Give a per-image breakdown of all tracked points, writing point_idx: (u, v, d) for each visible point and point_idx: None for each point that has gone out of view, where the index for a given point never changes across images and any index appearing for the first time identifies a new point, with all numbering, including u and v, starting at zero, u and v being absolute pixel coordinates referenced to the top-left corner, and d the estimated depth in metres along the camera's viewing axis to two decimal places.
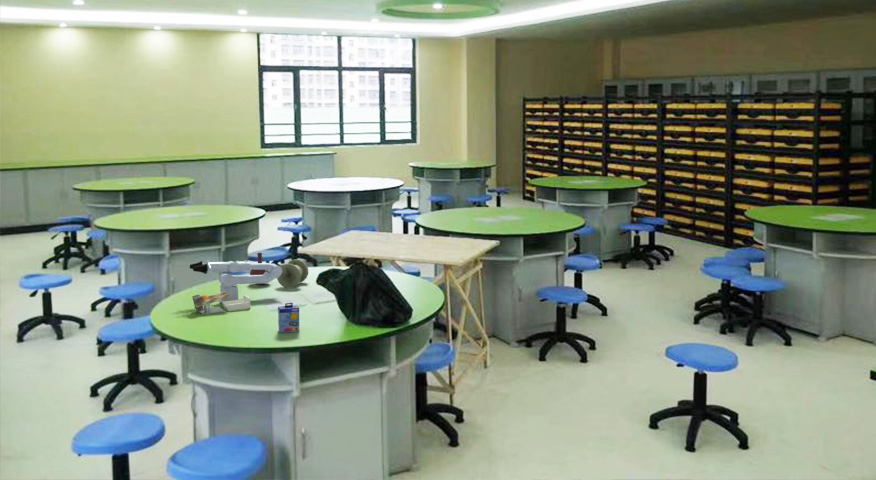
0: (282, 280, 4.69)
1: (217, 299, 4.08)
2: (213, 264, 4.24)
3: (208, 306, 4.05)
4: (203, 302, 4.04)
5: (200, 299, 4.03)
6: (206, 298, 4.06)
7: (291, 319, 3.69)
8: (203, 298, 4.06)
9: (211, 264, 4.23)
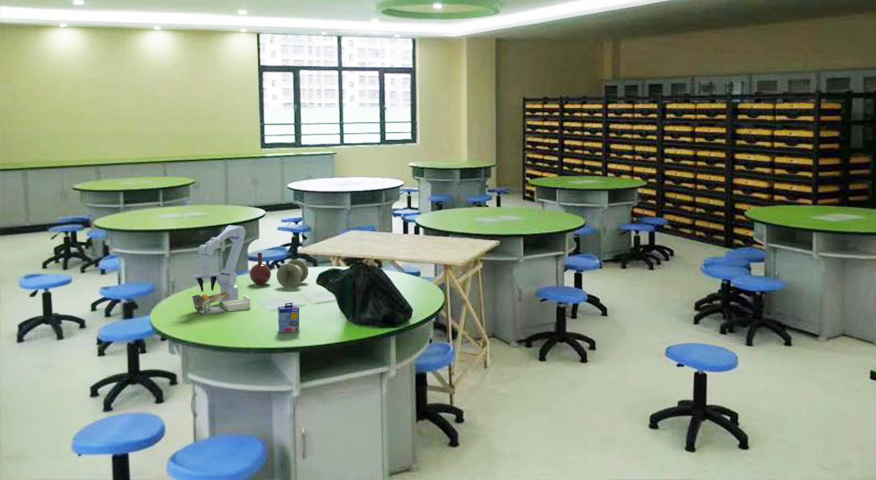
0: (282, 280, 4.69)
1: (217, 299, 4.08)
2: (211, 270, 4.16)
3: (208, 306, 4.05)
4: (203, 302, 4.04)
5: (200, 299, 4.03)
6: (206, 298, 4.06)
7: (291, 319, 3.69)
8: (203, 298, 4.06)
9: (211, 272, 4.16)
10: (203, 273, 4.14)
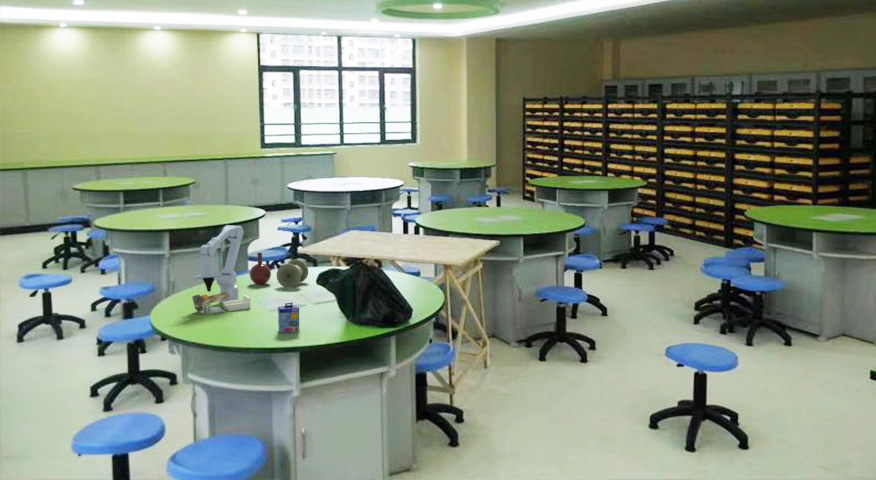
0: (282, 280, 4.69)
1: (217, 299, 4.08)
2: (212, 270, 4.14)
3: (208, 306, 4.05)
4: (203, 302, 4.04)
5: (200, 299, 4.03)
6: (206, 298, 4.06)
7: (291, 319, 3.69)
8: (203, 298, 4.06)
9: (212, 272, 4.14)
10: (205, 273, 4.12)
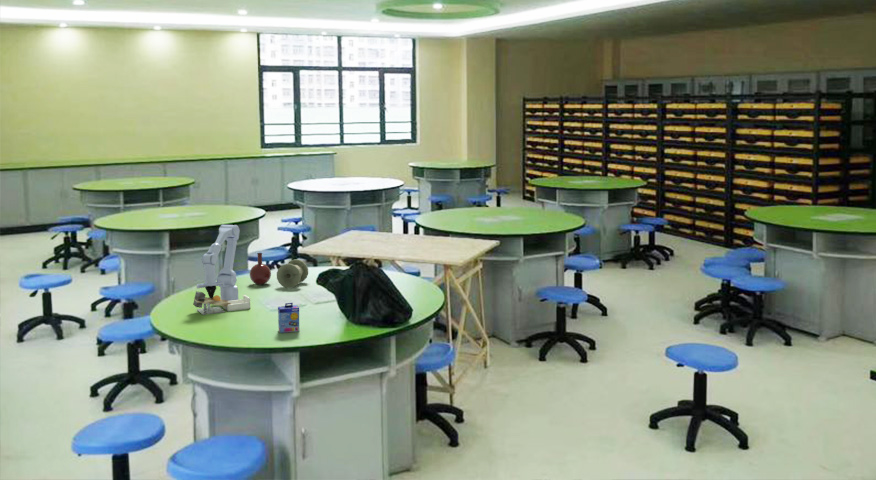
0: (282, 280, 4.69)
1: (218, 303, 4.09)
2: (214, 279, 4.14)
3: (208, 306, 4.05)
4: (204, 301, 4.05)
5: (203, 296, 4.04)
6: (216, 300, 4.09)
7: (291, 319, 3.69)
8: (219, 299, 4.10)
9: (214, 281, 4.14)
10: (207, 282, 4.12)
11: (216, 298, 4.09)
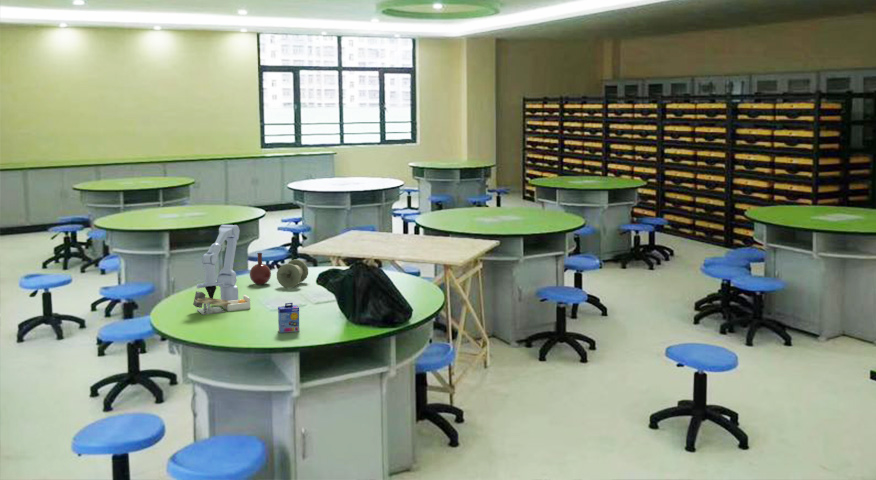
0: (282, 280, 4.69)
1: (218, 303, 4.09)
2: (214, 279, 4.14)
3: (208, 306, 4.05)
4: (204, 301, 4.05)
5: (203, 296, 4.04)
6: None
7: (291, 319, 3.69)
8: None
9: (214, 281, 4.14)
10: (207, 282, 4.12)
11: (243, 302, 4.17)
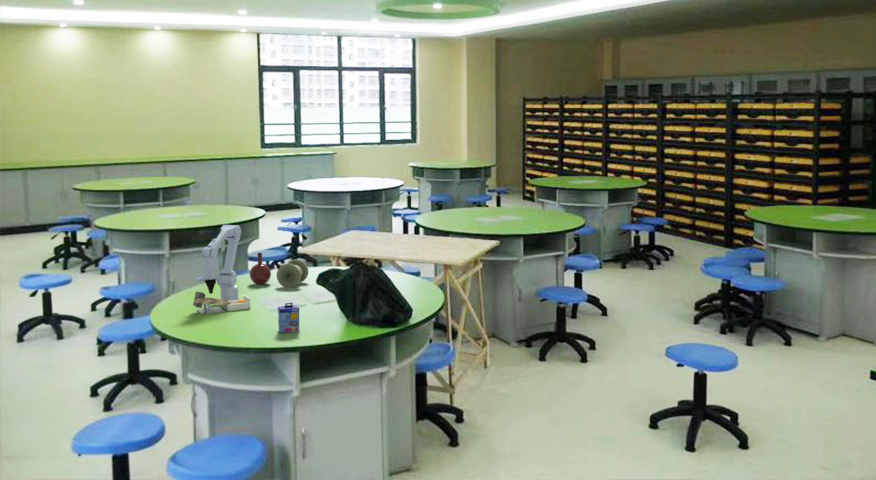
0: (282, 280, 4.69)
1: (218, 303, 4.09)
2: (214, 272, 4.13)
3: (208, 306, 4.05)
4: (204, 301, 4.05)
5: (203, 296, 4.04)
6: None
7: (291, 319, 3.69)
8: None
9: (214, 274, 4.13)
10: (207, 276, 4.11)
11: (242, 302, 4.17)
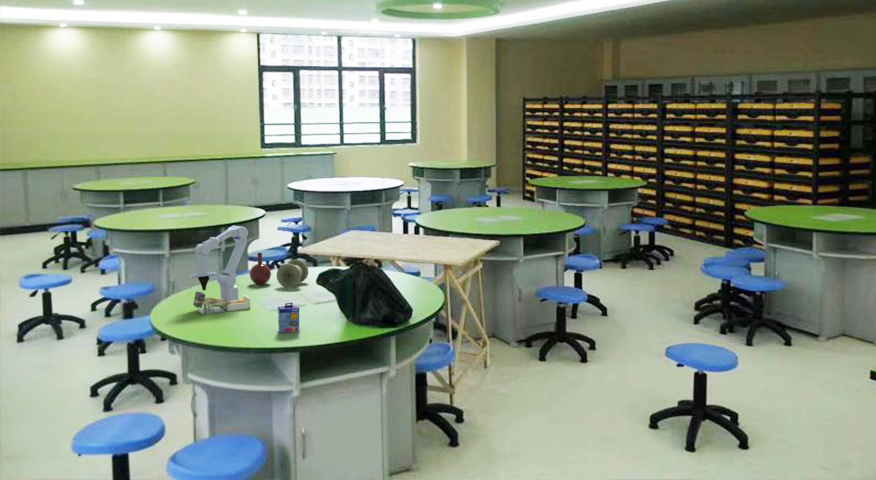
0: (282, 280, 4.69)
1: (218, 303, 4.09)
2: (207, 269, 4.18)
3: (208, 306, 4.05)
4: (204, 301, 4.05)
5: (203, 296, 4.04)
6: None
7: (291, 319, 3.69)
8: None
9: (207, 271, 4.18)
10: (200, 272, 4.16)
11: (241, 302, 4.17)
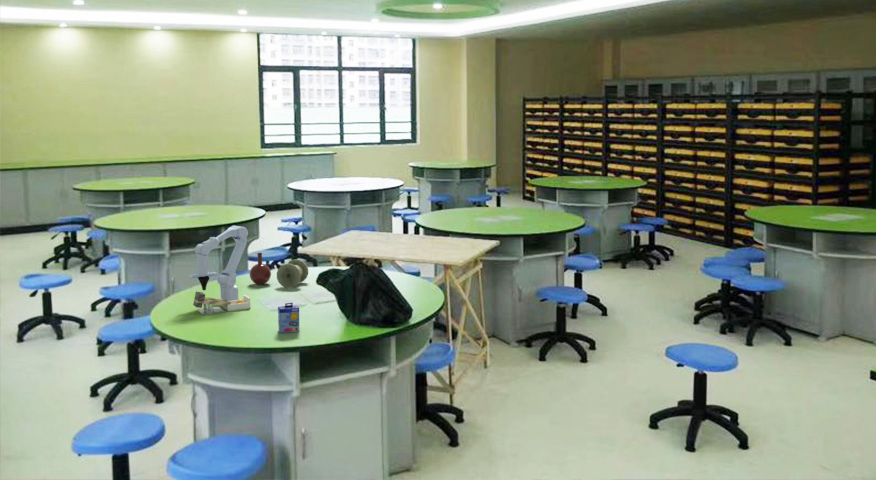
0: (282, 280, 4.69)
1: (218, 303, 4.09)
2: (207, 269, 4.18)
3: (208, 306, 4.05)
4: (204, 301, 4.05)
5: (203, 296, 4.04)
6: None
7: (291, 319, 3.69)
8: None
9: (207, 271, 4.18)
10: (200, 272, 4.16)
11: (240, 302, 4.17)
